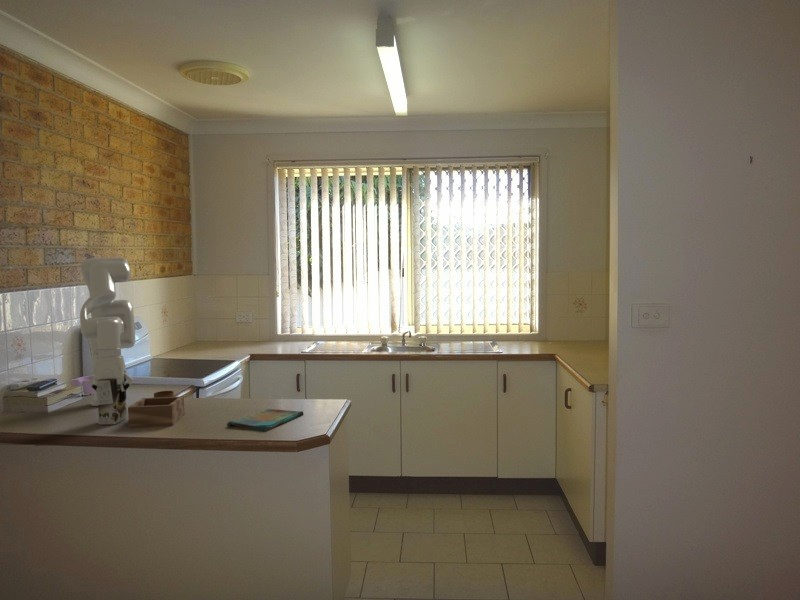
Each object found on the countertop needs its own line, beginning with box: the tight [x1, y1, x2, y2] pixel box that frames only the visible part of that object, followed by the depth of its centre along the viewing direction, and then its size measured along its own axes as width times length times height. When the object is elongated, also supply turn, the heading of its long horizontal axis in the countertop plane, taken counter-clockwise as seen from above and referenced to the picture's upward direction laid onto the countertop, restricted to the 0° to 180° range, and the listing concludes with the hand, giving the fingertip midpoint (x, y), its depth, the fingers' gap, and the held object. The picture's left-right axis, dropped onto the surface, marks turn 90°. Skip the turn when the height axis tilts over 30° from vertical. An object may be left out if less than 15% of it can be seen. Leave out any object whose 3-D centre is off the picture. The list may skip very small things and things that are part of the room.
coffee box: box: [97, 379, 128, 425], centre depth 223 cm, size 9×6×16 cm
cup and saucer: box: [152, 390, 175, 398], centre depth 244 cm, size 12×12×6 cm
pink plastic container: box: [70, 375, 94, 394], centre depth 280 cm, size 20×12×7 cm, turn 142°
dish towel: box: [226, 408, 304, 432], centre depth 219 cm, size 17×23×2 cm
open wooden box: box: [127, 396, 186, 428], centre depth 223 cm, size 15×15×7 cm
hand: (112, 401), depth 223 cm, fingers closed on coffee box, 6 cm apart
